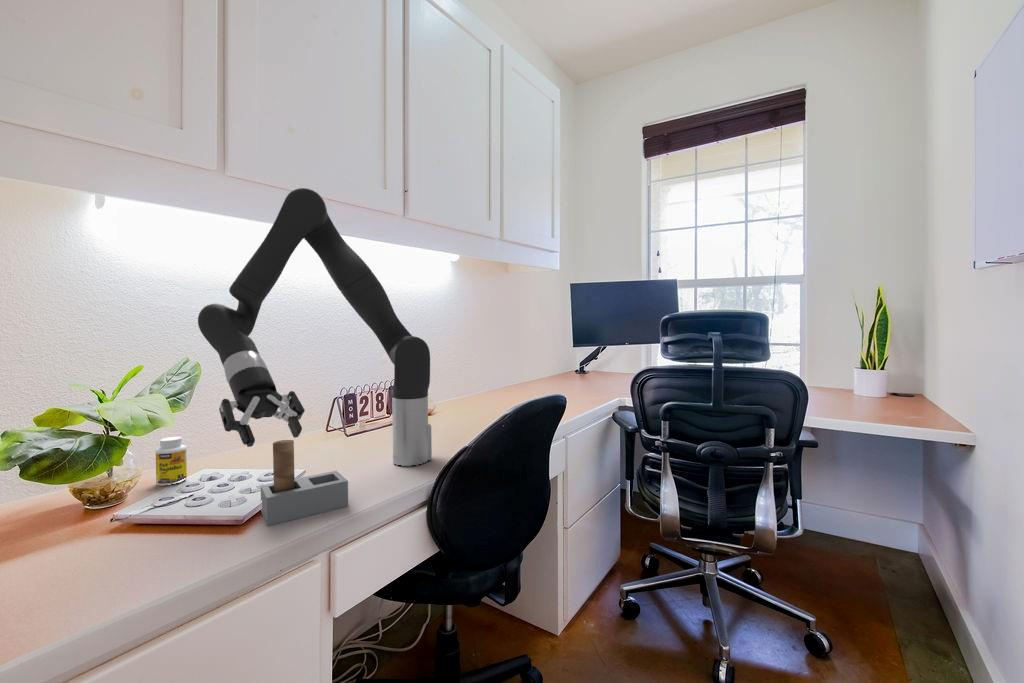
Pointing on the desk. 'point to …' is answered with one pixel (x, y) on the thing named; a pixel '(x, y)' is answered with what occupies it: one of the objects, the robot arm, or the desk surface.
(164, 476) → the supplement bottle
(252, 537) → the desk surface
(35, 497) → the desk surface
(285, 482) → the walnut pin
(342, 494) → the bore block
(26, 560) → the desk surface
